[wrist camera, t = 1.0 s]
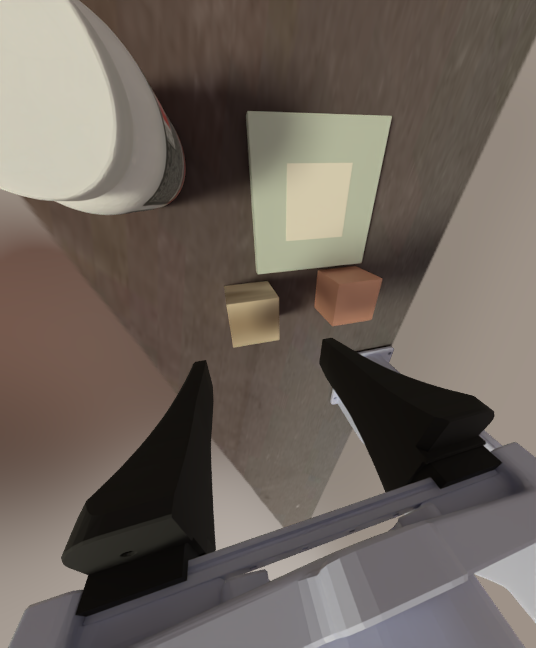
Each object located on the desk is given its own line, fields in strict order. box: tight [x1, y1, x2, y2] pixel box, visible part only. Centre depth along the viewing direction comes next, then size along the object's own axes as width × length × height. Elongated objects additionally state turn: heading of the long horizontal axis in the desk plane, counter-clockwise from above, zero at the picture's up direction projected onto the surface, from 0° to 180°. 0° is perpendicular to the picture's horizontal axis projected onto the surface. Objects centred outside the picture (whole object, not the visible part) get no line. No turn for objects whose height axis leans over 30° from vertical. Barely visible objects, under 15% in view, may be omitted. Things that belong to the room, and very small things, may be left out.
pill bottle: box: [0, 0, 185, 215], centre depth 8 cm, size 6×6×10 cm
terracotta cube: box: [314, 266, 383, 326], centre depth 19 cm, size 4×4×4 cm
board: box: [246, 111, 392, 274], centre depth 16 cm, size 10×10×1 cm
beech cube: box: [224, 281, 279, 348], centre depth 18 cm, size 4×4×4 cm
